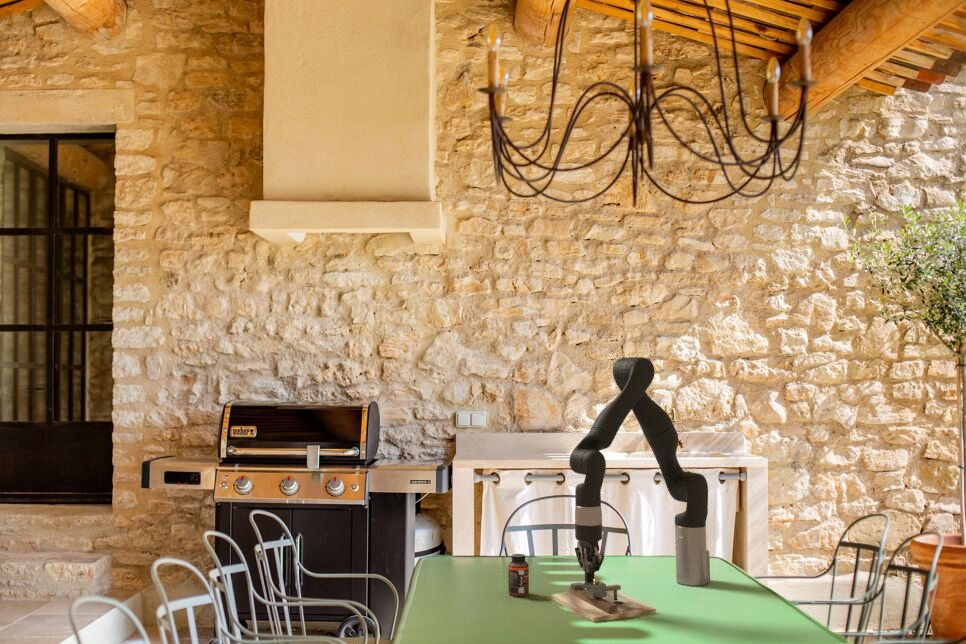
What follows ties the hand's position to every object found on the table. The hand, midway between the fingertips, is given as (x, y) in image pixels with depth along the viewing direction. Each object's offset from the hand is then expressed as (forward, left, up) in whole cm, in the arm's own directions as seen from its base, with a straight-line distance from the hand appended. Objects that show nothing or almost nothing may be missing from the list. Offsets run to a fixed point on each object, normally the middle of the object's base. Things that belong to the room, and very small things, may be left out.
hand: (589, 585), depth 219 cm
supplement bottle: (+13, -19, -6) cm, 24 cm away
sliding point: (-3, +3, -4) cm, 6 cm away
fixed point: (-3, -7, -4) cm, 8 cm away
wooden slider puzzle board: (-3, +1, -6) cm, 6 cm away
